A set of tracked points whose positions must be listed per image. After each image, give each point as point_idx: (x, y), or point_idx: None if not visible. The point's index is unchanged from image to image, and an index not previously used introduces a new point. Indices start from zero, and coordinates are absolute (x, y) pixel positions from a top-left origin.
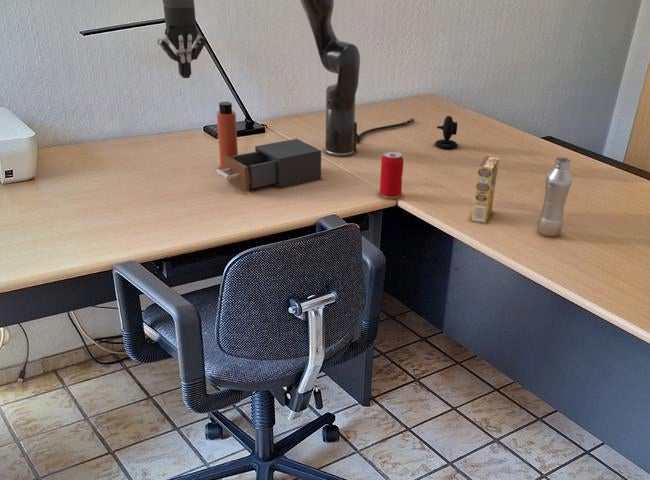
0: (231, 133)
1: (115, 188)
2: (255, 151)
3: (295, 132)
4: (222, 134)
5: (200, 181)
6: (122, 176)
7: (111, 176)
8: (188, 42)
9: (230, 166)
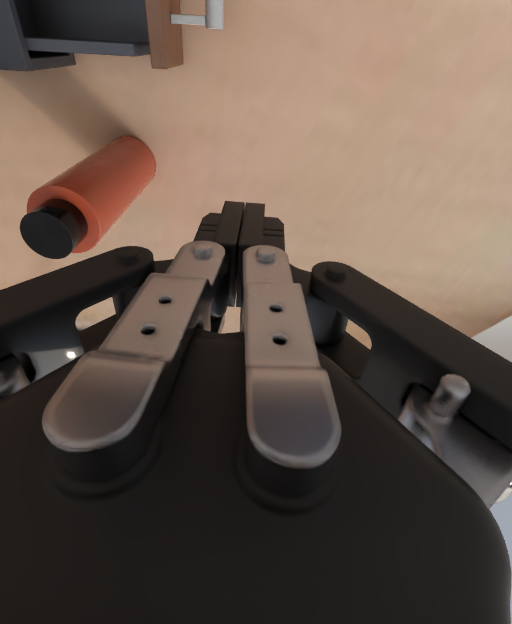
0: (85, 165)
1: (436, 195)
2: (38, 69)
3: None
4: (116, 182)
5: (244, 116)
6: (373, 252)
7: (391, 264)
8: (157, 349)
9: (167, 11)
